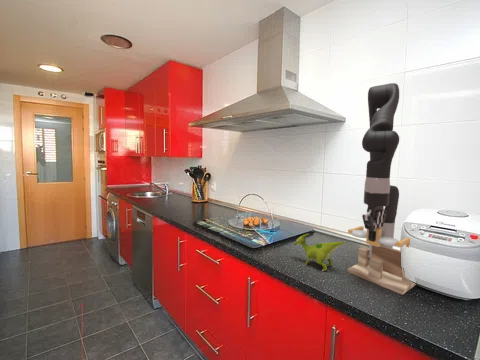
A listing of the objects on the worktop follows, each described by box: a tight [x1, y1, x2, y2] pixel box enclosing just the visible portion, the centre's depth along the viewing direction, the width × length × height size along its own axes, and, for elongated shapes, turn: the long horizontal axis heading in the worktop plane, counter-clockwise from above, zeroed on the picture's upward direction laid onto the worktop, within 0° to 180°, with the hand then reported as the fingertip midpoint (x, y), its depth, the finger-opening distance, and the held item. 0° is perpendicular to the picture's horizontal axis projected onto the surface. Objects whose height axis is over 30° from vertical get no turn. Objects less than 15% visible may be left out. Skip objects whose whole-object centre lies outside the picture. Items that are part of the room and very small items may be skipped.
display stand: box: [347, 245, 417, 295], centre depth 90 cm, size 12×19×10 cm, turn 37°
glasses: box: [347, 225, 411, 248], centre depth 86 cm, size 11×18×6 cm, turn 37°
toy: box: [293, 233, 347, 272], centre depth 99 cm, size 8×21×15 cm, turn 51°
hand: (373, 239), depth 84 cm, fingers closed on glasses
